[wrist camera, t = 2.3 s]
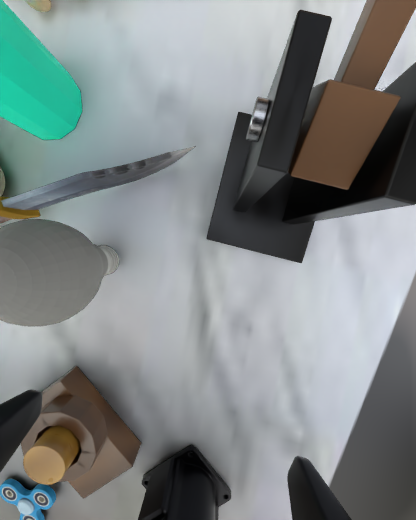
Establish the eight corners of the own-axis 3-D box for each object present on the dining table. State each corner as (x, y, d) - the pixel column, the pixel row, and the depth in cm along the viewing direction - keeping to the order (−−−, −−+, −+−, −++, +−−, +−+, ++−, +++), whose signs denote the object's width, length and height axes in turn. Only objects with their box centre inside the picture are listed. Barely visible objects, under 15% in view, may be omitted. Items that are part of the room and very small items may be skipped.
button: (88, 447, 17) (73, 471, 16) (59, 467, 18) (42, 492, 16) (62, 417, 17) (45, 438, 15) (34, 438, 17) (14, 460, 16)
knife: (196, 149, 18) (188, 116, 13) (201, 166, 18) (195, 139, 13) (-55, 239, 20) (-147, 240, 15) (-50, 253, 20) (-138, 259, 15)
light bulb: (62, 265, 20) (-99, 294, 10) (98, 212, 19) (-35, 184, 9) (115, 305, 20) (10, 374, 10) (153, 253, 19) (81, 271, 9)
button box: (149, 437, 21) (134, 484, 17) (96, 473, 22) (69, 526, 18) (85, 359, 20) (52, 389, 16) (32, 398, 21) (-11, 435, 17)
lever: (377, -277, 5) (469, -558, 3) (604, -232, 5) (865, -489, 3) (252, 157, 10) (252, 166, 8) (358, 183, 10) (386, 199, 8)
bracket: (237, 119, 17) (275, -120, 6) (332, 143, 17) (572, -54, 6) (207, 238, 19) (187, 242, 7) (296, 261, 18) (432, 304, 7)
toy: (56, 540, 21) (63, 526, 22) (48, 494, 21) (56, 482, 21) (3, 529, 22) (13, 517, 23) (-6, 485, 21) (4, 474, 22)
